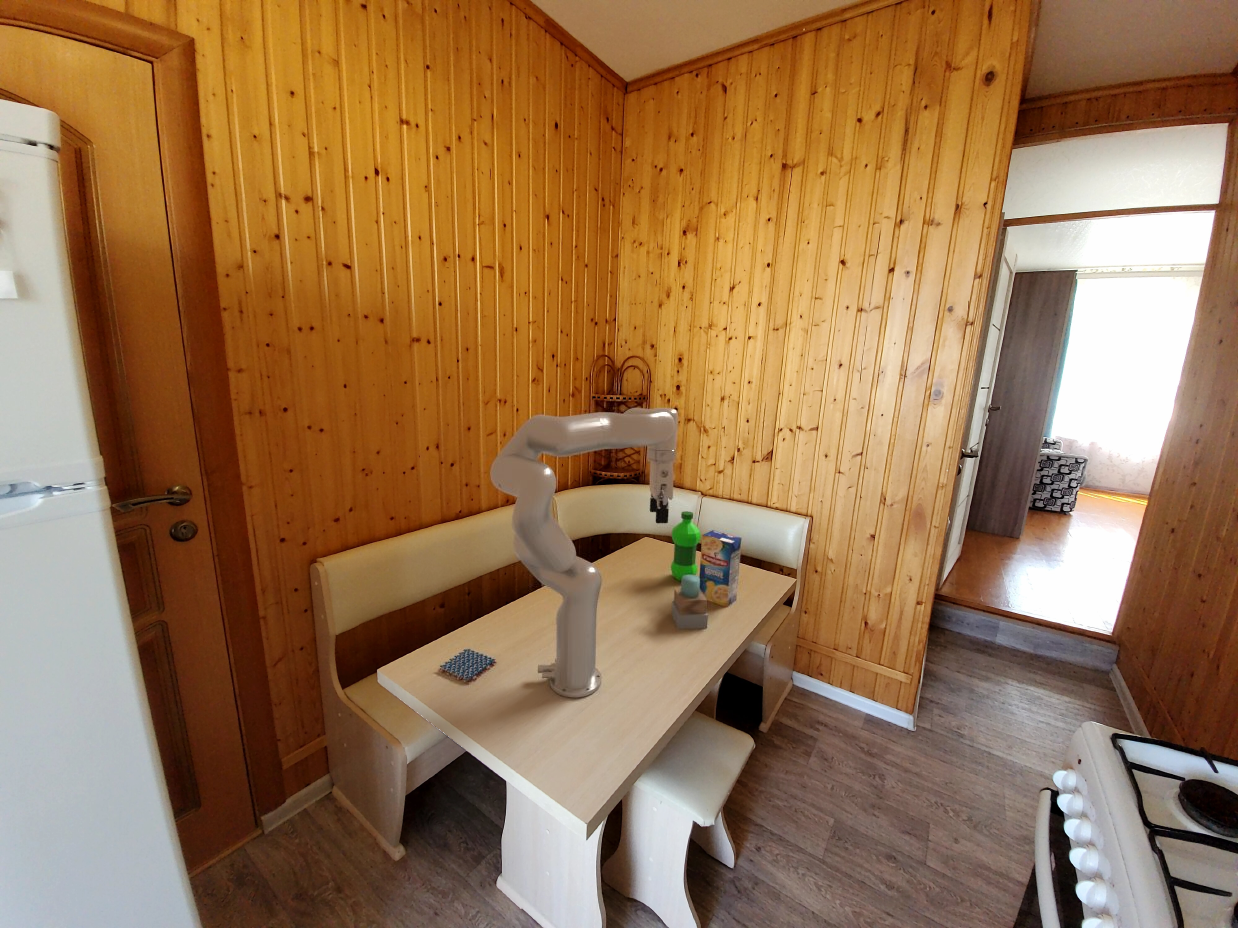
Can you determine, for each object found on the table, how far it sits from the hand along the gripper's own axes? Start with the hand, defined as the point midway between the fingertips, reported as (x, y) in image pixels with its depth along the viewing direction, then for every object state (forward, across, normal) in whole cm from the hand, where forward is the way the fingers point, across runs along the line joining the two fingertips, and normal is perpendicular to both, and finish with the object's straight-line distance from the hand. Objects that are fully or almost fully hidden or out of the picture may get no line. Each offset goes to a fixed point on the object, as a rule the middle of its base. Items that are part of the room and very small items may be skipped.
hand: (658, 517), depth 133 cm
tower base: (+37, +10, -13) cm, 40 cm away
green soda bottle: (+36, +40, -18) cm, 57 cm away
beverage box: (+36, +24, -26) cm, 51 cm away
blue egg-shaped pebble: (+28, +10, -13) cm, 32 cm away
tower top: (+32, +10, -13) cm, 36 cm away
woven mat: (+37, -11, +49) cm, 62 cm away
